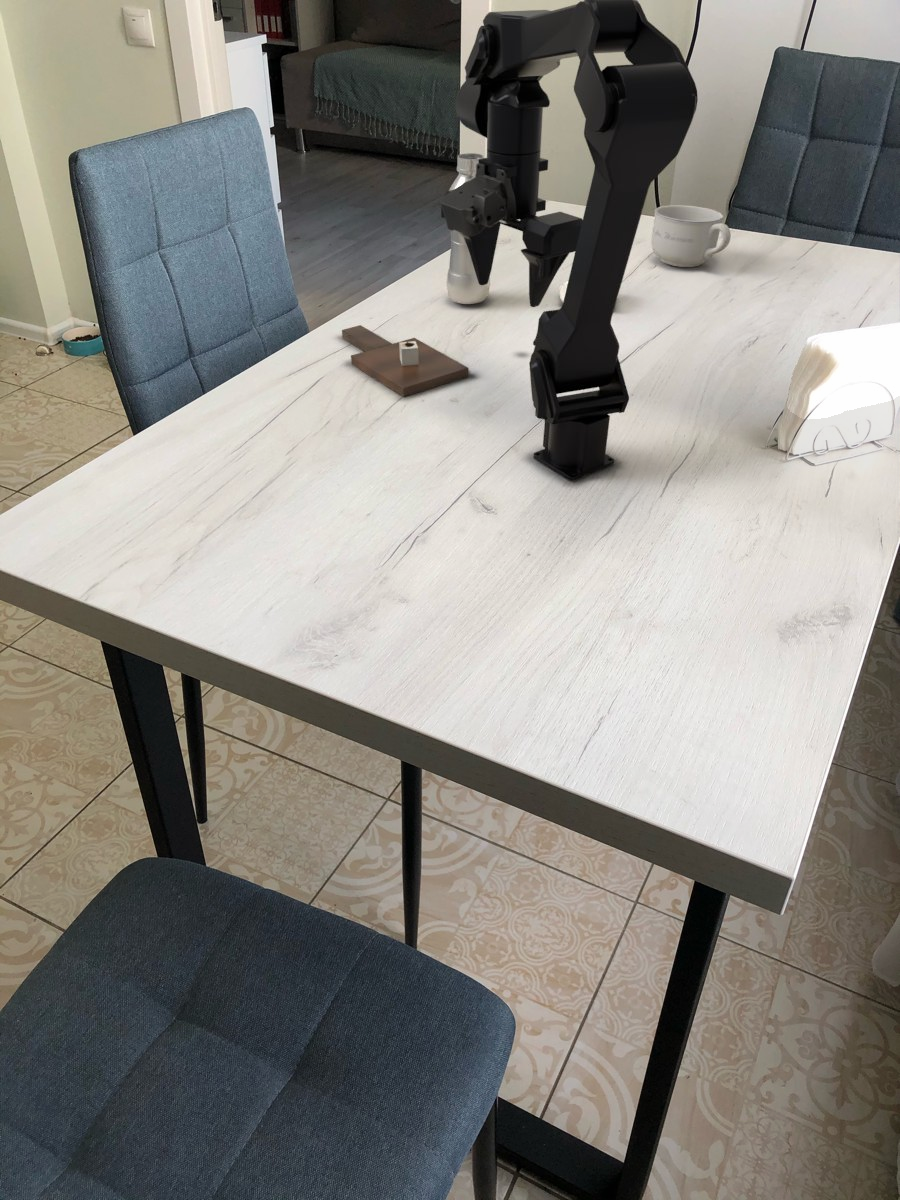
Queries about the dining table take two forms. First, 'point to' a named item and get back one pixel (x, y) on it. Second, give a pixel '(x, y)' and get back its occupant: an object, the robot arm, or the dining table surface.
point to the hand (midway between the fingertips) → (508, 295)
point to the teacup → (687, 234)
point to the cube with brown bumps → (409, 353)
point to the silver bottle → (464, 248)
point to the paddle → (388, 369)
